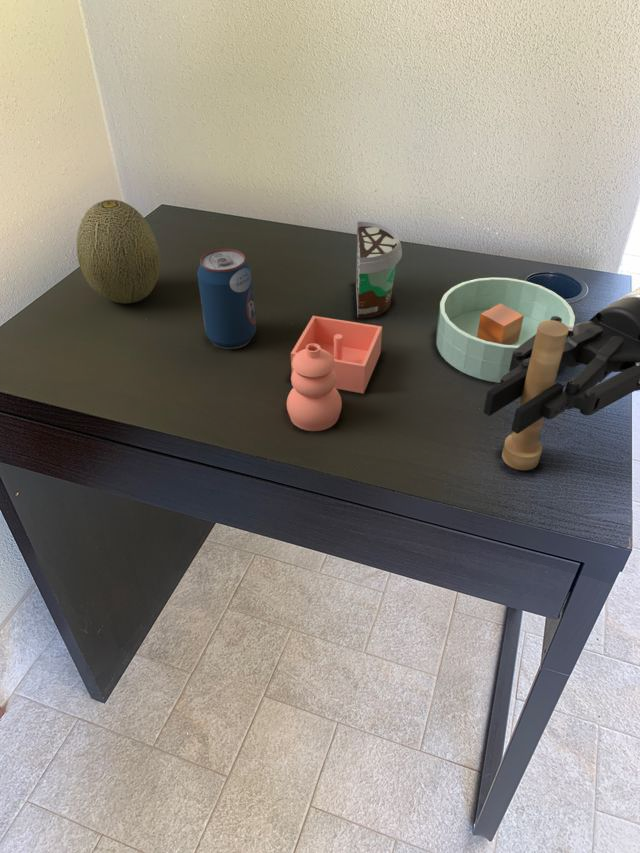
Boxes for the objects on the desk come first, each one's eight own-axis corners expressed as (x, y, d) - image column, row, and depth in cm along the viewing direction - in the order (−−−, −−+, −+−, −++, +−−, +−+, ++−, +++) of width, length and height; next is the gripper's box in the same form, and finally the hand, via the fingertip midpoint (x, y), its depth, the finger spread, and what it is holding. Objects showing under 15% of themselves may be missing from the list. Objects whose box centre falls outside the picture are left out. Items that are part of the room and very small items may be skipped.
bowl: (591, 349, 92) (602, 314, 88) (509, 401, 84) (517, 365, 80) (491, 298, 102) (497, 265, 98) (409, 340, 94) (413, 305, 90)
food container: (401, 324, 97) (406, 259, 90) (358, 324, 97) (360, 260, 90) (395, 280, 106) (399, 219, 100) (355, 280, 106) (357, 219, 100)
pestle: (546, 459, 75) (584, 329, 64) (523, 475, 74) (558, 344, 62) (517, 440, 78) (548, 312, 67) (494, 456, 76) (522, 326, 65)
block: (518, 340, 93) (524, 315, 90) (499, 351, 91) (504, 326, 88) (495, 328, 95) (500, 303, 92) (476, 338, 93) (480, 313, 90)
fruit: (97, 325, 98) (71, 226, 88) (83, 288, 105) (58, 194, 95) (175, 307, 101) (158, 210, 91) (156, 273, 109) (139, 180, 99)
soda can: (265, 342, 94) (259, 263, 86) (218, 357, 91) (207, 277, 83) (244, 319, 98) (236, 241, 90) (199, 332, 96) (187, 254, 88)
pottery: (313, 341, 94) (312, 277, 87) (380, 353, 92) (384, 288, 85) (267, 424, 81) (261, 356, 75) (344, 439, 79) (345, 371, 72)
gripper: (690, 386, 76) (561, 484, 65) (569, 326, 85) (438, 403, 74) (715, 329, 71) (581, 424, 60) (583, 272, 80) (446, 345, 69)
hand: (502, 412), depth 67 cm, fingers closed on pestle, 3 cm apart
